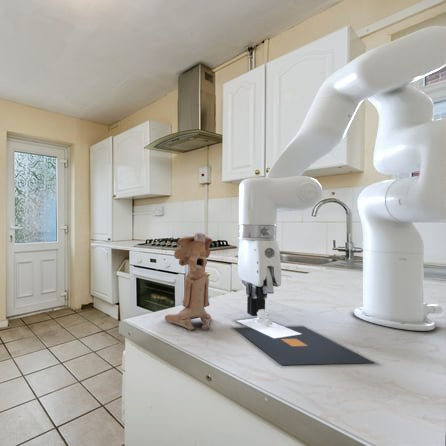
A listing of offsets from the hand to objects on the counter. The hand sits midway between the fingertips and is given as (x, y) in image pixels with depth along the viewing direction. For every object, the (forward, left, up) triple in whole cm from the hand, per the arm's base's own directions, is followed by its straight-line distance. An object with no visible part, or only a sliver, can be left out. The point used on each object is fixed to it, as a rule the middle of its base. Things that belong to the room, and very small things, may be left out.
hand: (256, 314), depth 62 cm
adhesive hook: (0, +4, -2) cm, 4 cm away
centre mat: (0, +11, -1) cm, 12 cm away
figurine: (+16, +1, -2) cm, 16 cm away
